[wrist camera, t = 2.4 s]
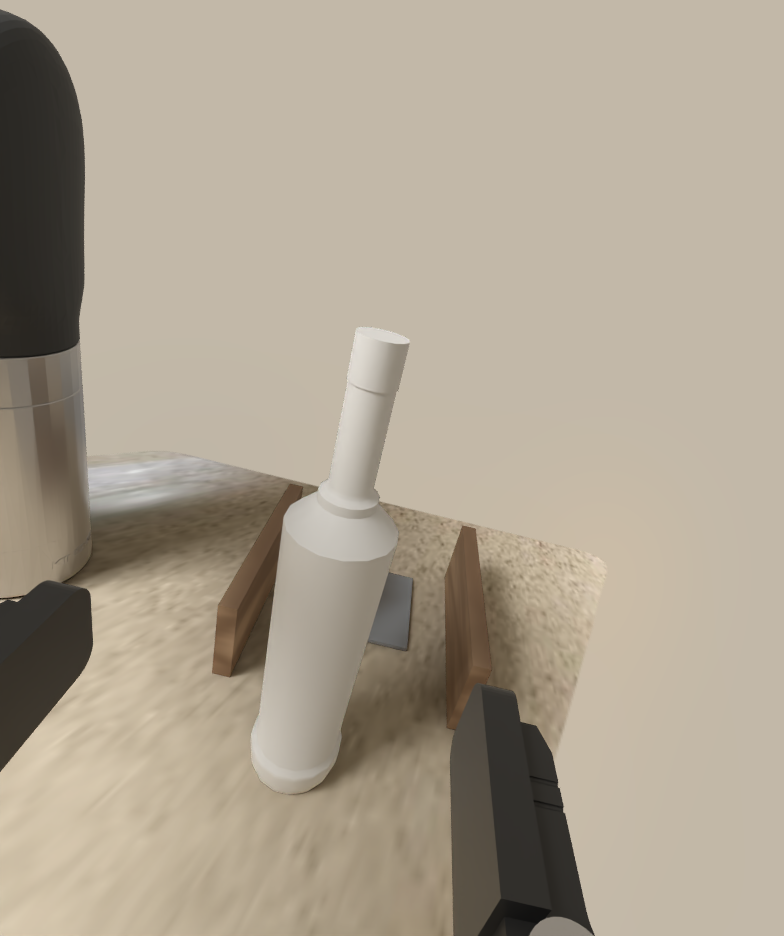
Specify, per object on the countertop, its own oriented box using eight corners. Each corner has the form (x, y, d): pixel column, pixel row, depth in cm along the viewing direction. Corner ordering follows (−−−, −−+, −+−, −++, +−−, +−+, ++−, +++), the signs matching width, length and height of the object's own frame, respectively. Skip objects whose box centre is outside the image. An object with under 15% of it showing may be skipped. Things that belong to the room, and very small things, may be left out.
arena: (212, 673, 33) (218, 605, 30) (281, 537, 47) (289, 483, 44) (464, 731, 33) (491, 669, 30) (456, 579, 47) (475, 528, 45)
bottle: (275, 701, 32) (344, 309, 21) (349, 733, 31) (461, 343, 20) (229, 775, 27) (287, 324, 16) (314, 815, 27) (435, 369, 16)
